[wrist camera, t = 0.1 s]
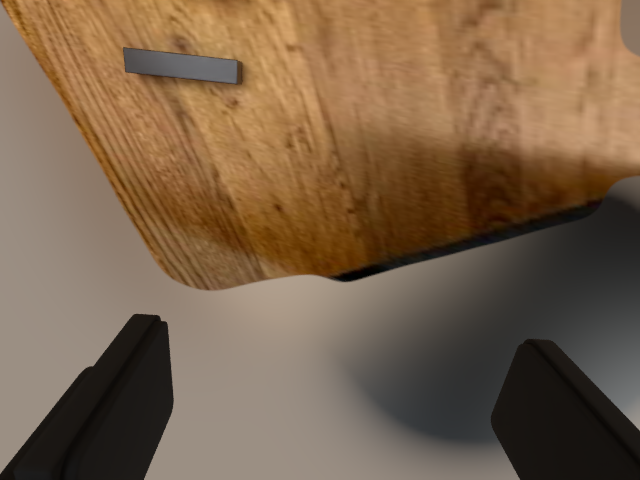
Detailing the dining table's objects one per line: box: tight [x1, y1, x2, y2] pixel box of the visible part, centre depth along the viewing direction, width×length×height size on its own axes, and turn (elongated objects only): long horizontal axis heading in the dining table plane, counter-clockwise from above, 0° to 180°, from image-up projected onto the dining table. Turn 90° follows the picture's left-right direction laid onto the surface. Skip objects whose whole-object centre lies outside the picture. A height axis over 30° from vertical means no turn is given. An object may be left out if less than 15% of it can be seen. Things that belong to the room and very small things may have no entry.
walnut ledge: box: [123, 47, 242, 84], centre depth 33 cm, size 2×10×2 cm, turn 84°
